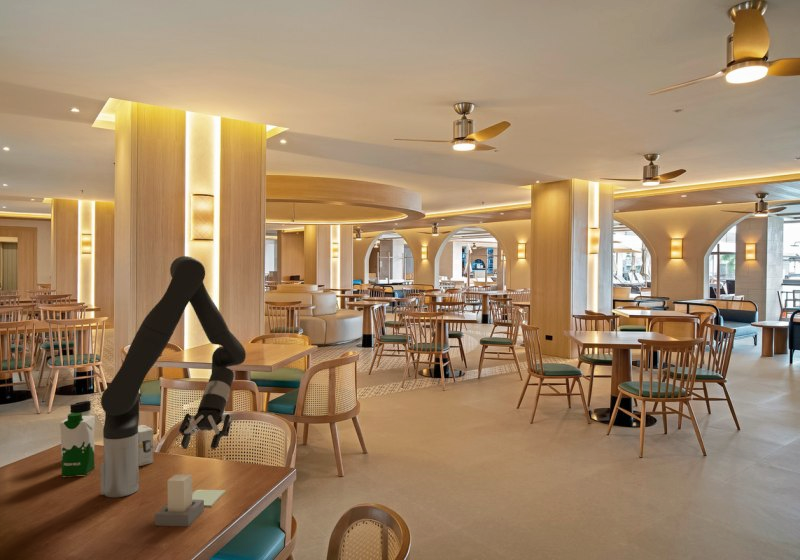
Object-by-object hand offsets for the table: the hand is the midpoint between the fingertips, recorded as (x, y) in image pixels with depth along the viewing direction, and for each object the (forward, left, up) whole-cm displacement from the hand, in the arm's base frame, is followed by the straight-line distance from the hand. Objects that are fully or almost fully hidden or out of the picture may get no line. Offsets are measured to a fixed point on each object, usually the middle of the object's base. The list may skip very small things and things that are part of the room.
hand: (198, 448), depth 151 cm
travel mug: (-58, +31, -15) cm, 68 cm away
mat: (+1, +1, -15) cm, 15 cm away
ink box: (-34, +28, -15) cm, 47 cm away
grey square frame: (0, -11, -15) cm, 19 cm away
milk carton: (-49, +17, -15) cm, 54 cm away
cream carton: (0, -11, -15) cm, 19 cm away
